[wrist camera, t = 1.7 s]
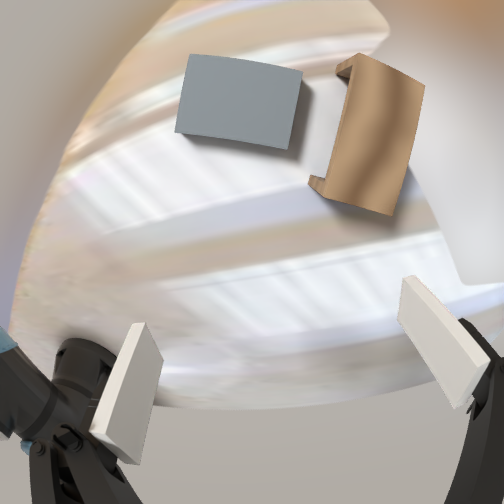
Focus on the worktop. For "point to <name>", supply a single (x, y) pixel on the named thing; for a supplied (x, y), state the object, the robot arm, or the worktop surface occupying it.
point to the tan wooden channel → (372, 136)
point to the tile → (238, 100)
